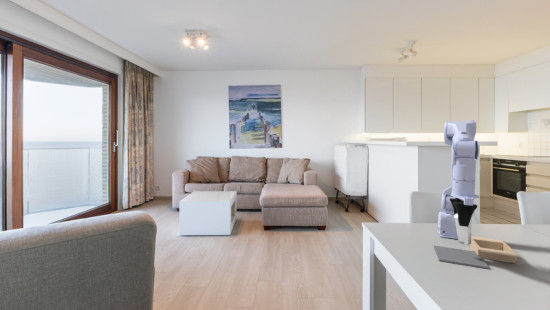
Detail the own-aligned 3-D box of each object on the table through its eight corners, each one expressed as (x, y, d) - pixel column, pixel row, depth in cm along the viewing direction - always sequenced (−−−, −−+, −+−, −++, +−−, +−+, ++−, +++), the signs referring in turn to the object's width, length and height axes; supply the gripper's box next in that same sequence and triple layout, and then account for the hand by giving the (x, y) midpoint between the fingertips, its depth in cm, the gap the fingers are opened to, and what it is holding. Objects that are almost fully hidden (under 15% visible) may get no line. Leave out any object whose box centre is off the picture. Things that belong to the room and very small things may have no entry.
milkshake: (473, 247, 78) (470, 213, 77) (453, 242, 82) (450, 211, 82) (479, 243, 80) (477, 210, 80) (459, 239, 85) (457, 208, 84)
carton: (480, 260, 80) (480, 250, 79) (468, 244, 92) (468, 235, 92) (519, 266, 76) (520, 256, 76) (501, 248, 89) (501, 240, 88)
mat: (439, 260, 79) (439, 259, 79) (433, 246, 90) (433, 245, 90) (489, 269, 74) (489, 267, 74) (477, 253, 85) (477, 251, 85)
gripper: (487, 184, 73) (485, 232, 73) (472, 178, 86) (471, 219, 86) (456, 182, 76) (454, 229, 76) (447, 176, 89) (445, 216, 89)
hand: (461, 223), depth 81 cm, fingers closed on milkshake, 4 cm apart
